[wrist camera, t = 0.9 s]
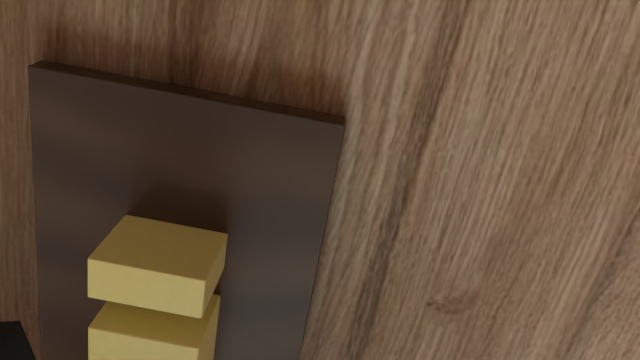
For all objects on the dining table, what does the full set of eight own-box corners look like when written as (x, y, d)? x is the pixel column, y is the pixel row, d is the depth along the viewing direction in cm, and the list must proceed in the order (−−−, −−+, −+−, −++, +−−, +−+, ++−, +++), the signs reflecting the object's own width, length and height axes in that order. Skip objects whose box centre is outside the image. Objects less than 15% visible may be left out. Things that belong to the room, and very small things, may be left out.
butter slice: (125, 213, 27) (87, 258, 23) (228, 233, 27) (205, 280, 23) (124, 249, 28) (87, 297, 24) (224, 268, 28) (201, 319, 24)
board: (41, 59, 25) (27, 65, 24) (346, 116, 25) (345, 125, 24) (54, 389, 34) (43, 404, 32) (284, 433, 33) (281, 450, 32)
